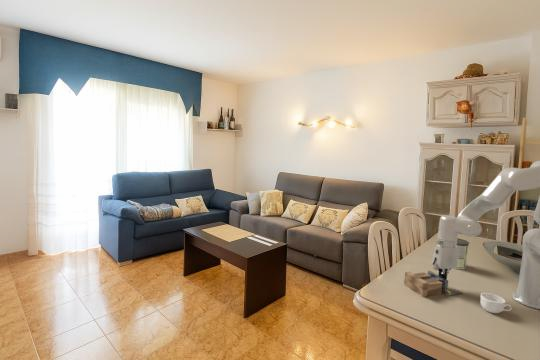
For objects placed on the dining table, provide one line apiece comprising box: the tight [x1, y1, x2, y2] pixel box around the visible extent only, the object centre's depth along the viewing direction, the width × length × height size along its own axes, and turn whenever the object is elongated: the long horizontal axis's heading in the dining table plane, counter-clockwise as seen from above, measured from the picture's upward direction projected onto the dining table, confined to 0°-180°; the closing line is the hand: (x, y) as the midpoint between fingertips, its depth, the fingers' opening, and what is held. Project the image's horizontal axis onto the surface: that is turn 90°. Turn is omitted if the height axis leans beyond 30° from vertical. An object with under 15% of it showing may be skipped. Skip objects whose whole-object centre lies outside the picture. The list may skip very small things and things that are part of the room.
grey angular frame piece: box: [423, 270, 452, 293], centre depth 131 cm, size 12×10×5 cm
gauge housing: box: [403, 271, 463, 298], centre depth 131 cm, size 13×20×6 cm, turn 106°
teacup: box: [479, 292, 513, 314], centre depth 115 cm, size 10×8×5 cm
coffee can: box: [453, 237, 470, 270], centre depth 158 cm, size 10×10×14 cm
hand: (442, 280), depth 134 cm, fingers closed
